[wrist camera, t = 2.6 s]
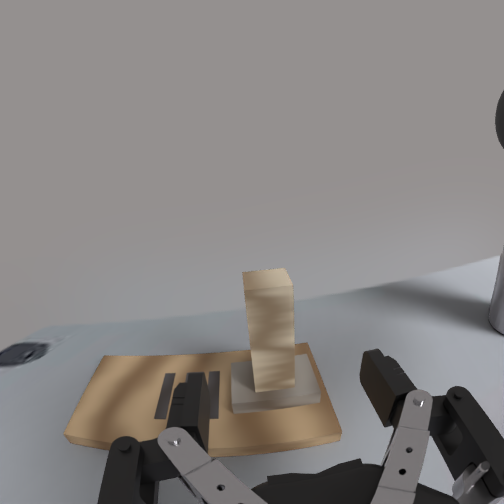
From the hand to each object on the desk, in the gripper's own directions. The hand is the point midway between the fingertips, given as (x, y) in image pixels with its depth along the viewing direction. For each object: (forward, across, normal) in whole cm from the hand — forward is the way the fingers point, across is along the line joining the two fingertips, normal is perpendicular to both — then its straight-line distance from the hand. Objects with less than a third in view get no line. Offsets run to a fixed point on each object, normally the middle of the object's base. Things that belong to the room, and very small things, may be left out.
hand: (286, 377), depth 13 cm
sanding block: (+10, 0, +11) cm, 15 cm away
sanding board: (+10, +8, +12) cm, 18 cm away
